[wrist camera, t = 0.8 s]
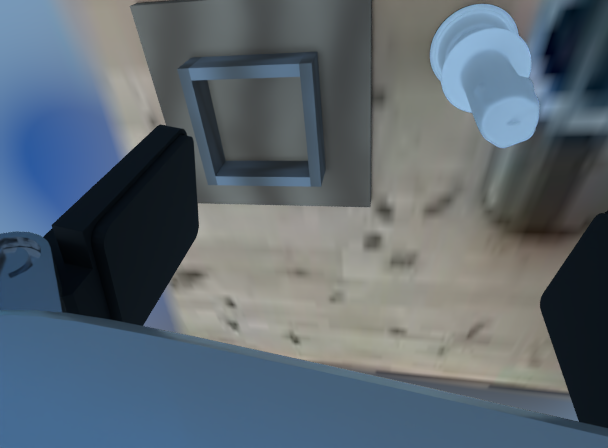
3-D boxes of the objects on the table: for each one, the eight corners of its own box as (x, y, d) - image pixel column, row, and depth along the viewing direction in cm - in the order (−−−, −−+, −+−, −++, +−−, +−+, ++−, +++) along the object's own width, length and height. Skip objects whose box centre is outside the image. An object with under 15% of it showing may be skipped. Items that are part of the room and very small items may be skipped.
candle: (483, -18, 25) (534, 34, 16) (536, 47, 27) (611, 129, 17) (412, 51, 28) (420, 128, 19) (464, 105, 30) (495, 202, 20)
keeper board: (371, -15, 26) (368, -5, 23) (370, 200, 36) (368, 225, 33) (136, 3, 29) (110, 14, 26) (194, 196, 39) (178, 219, 36)
